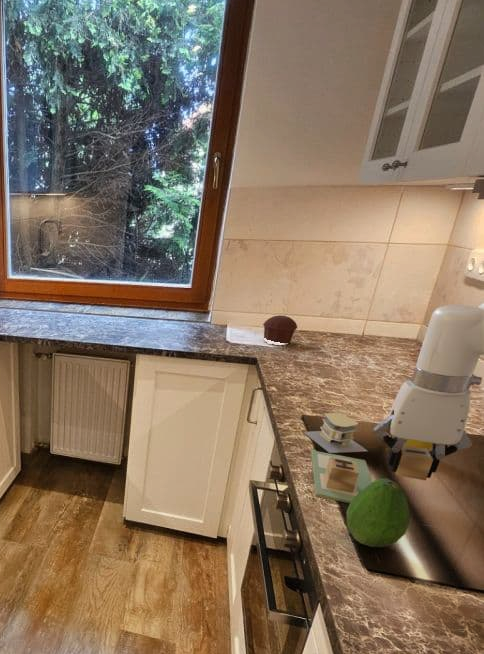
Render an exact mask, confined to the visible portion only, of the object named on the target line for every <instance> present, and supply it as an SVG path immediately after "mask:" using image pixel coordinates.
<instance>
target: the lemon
mask: <svg viewBox="0 0 484 654" xmlns="http://www.w3.org/2000/svg"><path fill="white" fill-rule="evenodd" d="M404 445H406V446H413V447H419V448H426V449H428V451H431V450H432V443H428V442H421V441H415V440H407V441H406V443H405V444H404Z"/></svg>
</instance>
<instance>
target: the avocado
mask: <svg viewBox="0 0 484 654" xmlns="http://www.w3.org/2000/svg"><path fill="white" fill-rule="evenodd" d="M409 525H410V509H409V502H408V500H407V496H406V494H405V490H404V489H402V487H401V486H400V485H399V484H398V483H397V482H395V481H394V480H391V479H389V478H387V477H386V478H377V479H375V480H374V481H373V480H372V483H370V484H369V485H368V486H367V487H366V488H364V489H363V490H362V491H361V492H360V493H358V494H357V496H356V497H355V498H354V499H353V500H352V501H351V502H350V503H348V506H347V509H346V527H347V529H348V531H349V533H350V535H351V536H352V537H353V539H354V540H355V541H356V542H357V543H359V544H361V545H364V546H367V547H370V548H384V547H389V546H392V545H394V544H395V543H397V542H398V541H399V540H400V539H402V538H403V536H404V535H406V533H407V530H408V528H409Z"/></svg>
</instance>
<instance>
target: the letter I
mask: <svg viewBox="0 0 484 654" xmlns="http://www.w3.org/2000/svg"><path fill="white" fill-rule="evenodd" d="M429 451H430V450H428V449H426V448H419V447H413V446H406V445H403V447H402V448H401V454H402V456H401V459H400V462H399V465H398V468H397V471H396V472H394V473H395V475H396V476H398V477H403V478H408V479H416V480H419V481H427V479H428V478H427V476H428V473H429V470H430V467H431V465H432V462H433V458H432V457H431V455H430V453H429Z"/></svg>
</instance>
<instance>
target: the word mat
mask: <svg viewBox="0 0 484 654" xmlns="http://www.w3.org/2000/svg"><path fill="white" fill-rule="evenodd" d="M310 455H311V464H312V475H313V485H314V493H315V497H319V498H324V499H330V500H334V501H337V502H342V503H347V504H350V502H351V501H352V500H353V499H354V498H355V497H356V496H357V494H358V493H360V492H361V491H362V490H363V489H364V488H366V487H367V486H368V485H369V484H370V483H372V482H373V480H372V477H371V473H370V471H369V468H368V464H367V461H366V460H365V459H361V458H354V457H350V456H344V455H340V454H335V453H329V452H323V451H318V450H313V449H312V450H311V452H310ZM330 457H333V458H338V459H343V460H349V461H354V462H356V463H357V467H358V471H359V475H358V478H357V481H356V484H355V487H354V490H353V493H351V492H346V491H341V490H337V489H332V488H327V487H326V485H325V478H324V475H325V472H326V468H327V465H328V462H329V458H330Z"/></svg>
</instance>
